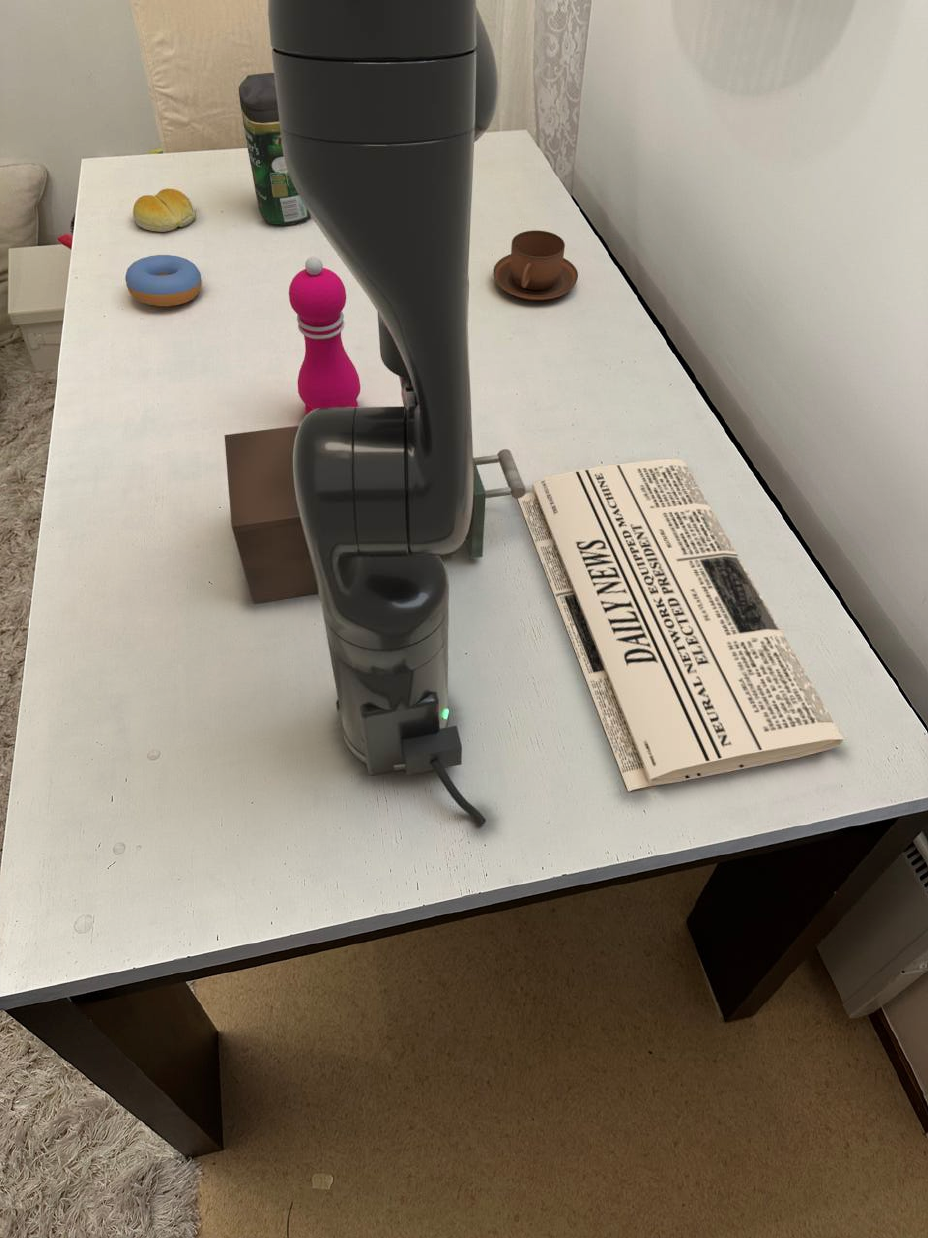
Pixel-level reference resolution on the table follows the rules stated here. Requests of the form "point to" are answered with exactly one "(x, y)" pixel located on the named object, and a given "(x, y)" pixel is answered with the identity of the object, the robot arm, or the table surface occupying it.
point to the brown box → (268, 514)
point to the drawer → (480, 495)
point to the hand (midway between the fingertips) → (426, 466)
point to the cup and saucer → (536, 267)
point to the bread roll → (163, 211)
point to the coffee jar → (268, 152)
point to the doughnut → (163, 280)
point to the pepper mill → (323, 339)
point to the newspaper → (670, 626)
